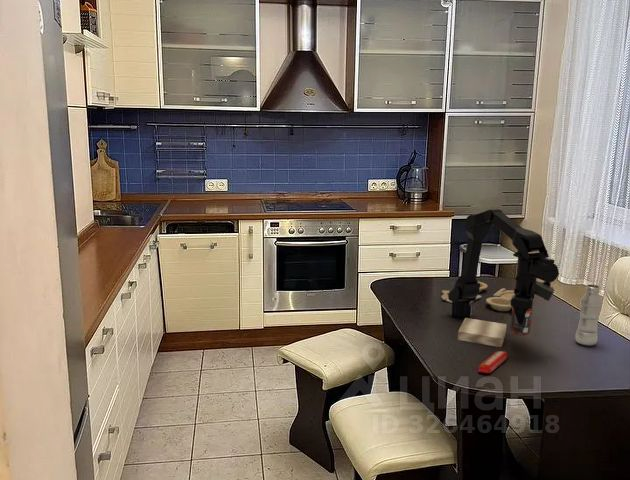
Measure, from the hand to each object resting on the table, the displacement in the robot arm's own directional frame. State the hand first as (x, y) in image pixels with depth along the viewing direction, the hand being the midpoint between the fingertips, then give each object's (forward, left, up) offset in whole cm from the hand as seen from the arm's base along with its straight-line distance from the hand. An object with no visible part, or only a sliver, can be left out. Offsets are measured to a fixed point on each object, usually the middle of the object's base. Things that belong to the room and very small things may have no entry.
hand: (521, 320), depth 181 cm
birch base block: (-12, +6, -10) cm, 17 cm away
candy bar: (-6, -16, -10) cm, 20 cm away
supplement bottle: (0, 0, -4) cm, 4 cm away
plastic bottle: (+20, +14, -10) cm, 26 cm away
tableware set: (-16, +48, -10) cm, 52 cm away
